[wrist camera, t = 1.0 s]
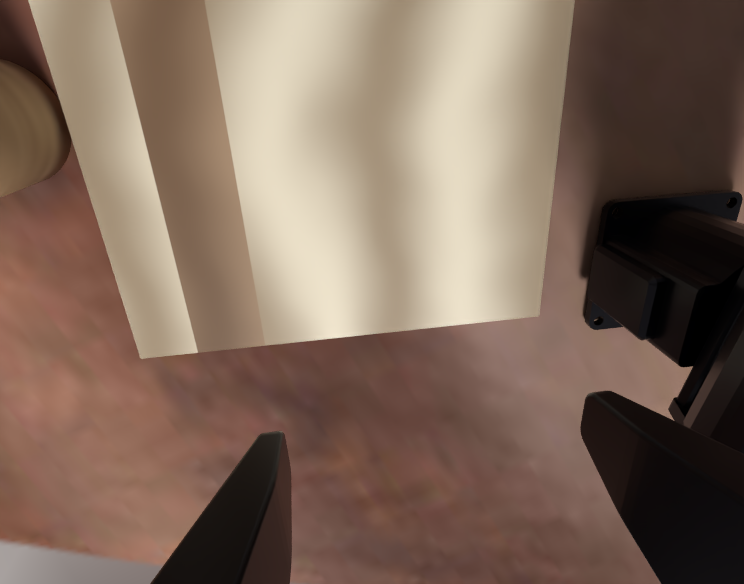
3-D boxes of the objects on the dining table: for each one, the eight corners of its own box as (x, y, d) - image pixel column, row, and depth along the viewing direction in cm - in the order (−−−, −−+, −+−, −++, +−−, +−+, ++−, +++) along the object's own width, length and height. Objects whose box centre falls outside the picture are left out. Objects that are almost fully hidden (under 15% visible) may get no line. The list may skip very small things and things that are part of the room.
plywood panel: (601, -355, 14) (617, -379, 13) (531, 308, 23) (539, 316, 22) (-72, -368, 12) (-96, -396, 11) (146, 349, 22) (140, 358, 21)
